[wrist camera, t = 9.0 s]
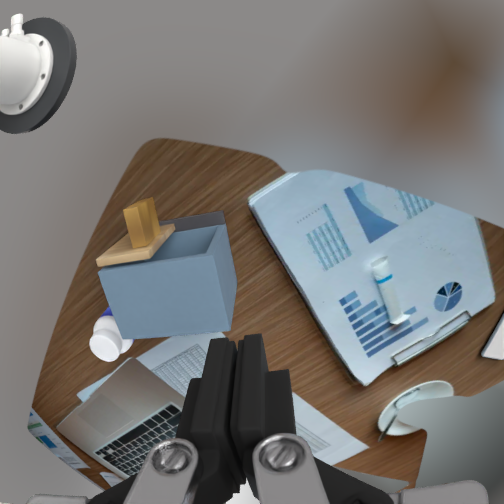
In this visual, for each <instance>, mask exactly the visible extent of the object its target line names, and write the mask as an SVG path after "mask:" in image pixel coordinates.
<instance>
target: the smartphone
mask: <svg viewBox="0 0 504 504" xmlns="http://www.w3.org/2000/svg"><path fill="white" fill-rule="evenodd" d="M481 355H482V356H483V357H487V358H493V359H499V360H504V313H503V315H502V317H501V319H500V321H499V323H498V325H497V327H496V328H495V330H494V332H493V334H492V335H491V337H490V339H489V341H488V342H487V344H486V346H485V347H484V349H483V351H482V353H481Z"/></svg>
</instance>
